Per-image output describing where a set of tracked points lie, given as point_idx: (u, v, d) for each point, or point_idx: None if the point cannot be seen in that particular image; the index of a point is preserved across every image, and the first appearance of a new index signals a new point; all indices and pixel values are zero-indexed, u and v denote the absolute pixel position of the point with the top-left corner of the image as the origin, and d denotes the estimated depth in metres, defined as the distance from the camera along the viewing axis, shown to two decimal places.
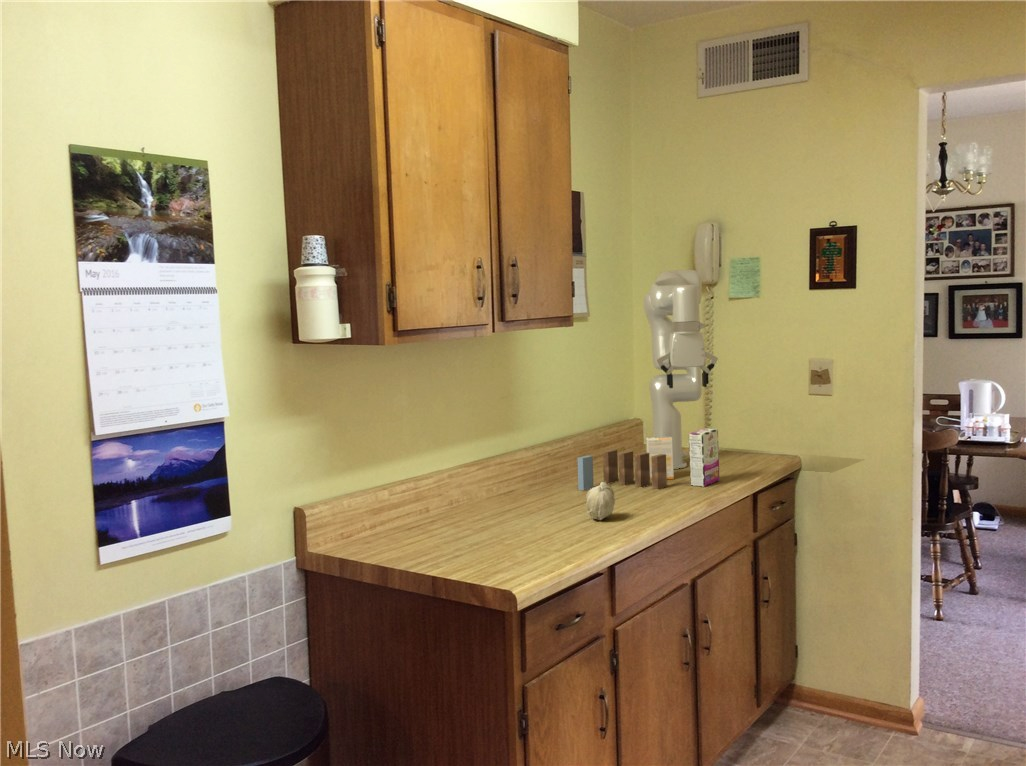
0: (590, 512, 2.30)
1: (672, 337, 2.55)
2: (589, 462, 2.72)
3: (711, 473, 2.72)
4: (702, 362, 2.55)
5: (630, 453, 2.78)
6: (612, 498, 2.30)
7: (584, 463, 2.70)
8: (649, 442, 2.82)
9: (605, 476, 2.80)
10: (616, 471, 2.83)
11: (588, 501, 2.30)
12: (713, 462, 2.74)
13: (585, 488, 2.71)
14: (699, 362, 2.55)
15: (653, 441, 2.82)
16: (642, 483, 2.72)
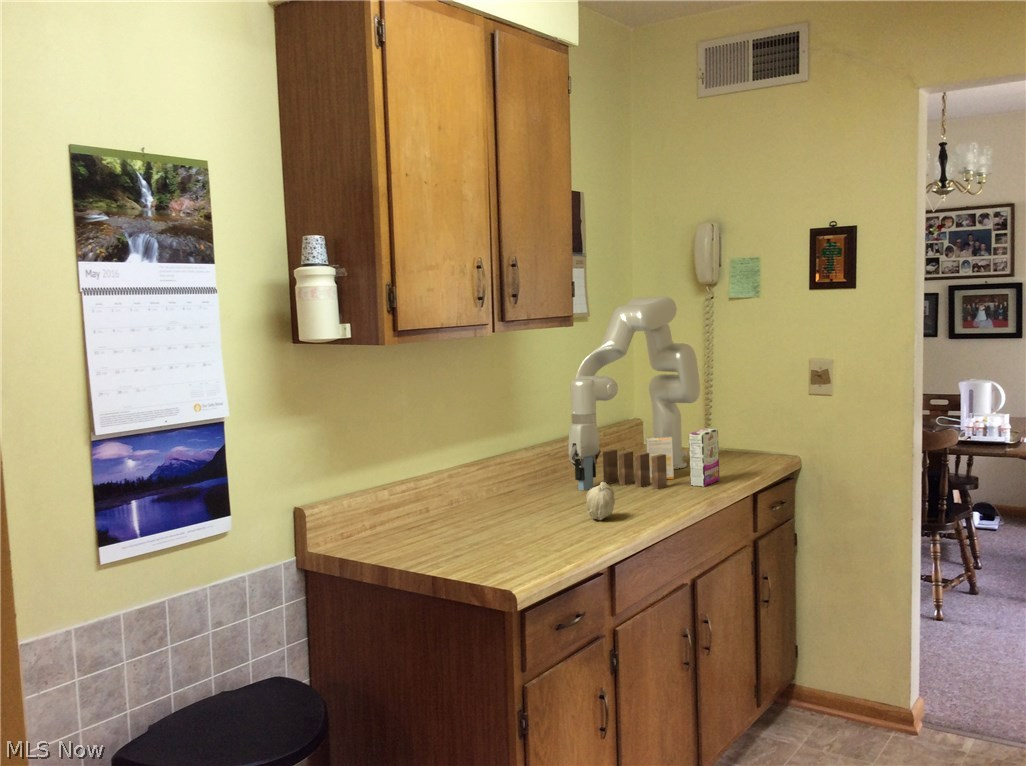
0: (590, 512, 2.30)
1: (579, 429, 2.67)
2: (589, 462, 2.72)
3: (711, 473, 2.72)
4: (598, 450, 2.73)
5: (630, 453, 2.78)
6: (612, 498, 2.30)
7: (584, 463, 2.70)
8: (649, 442, 2.82)
9: (605, 476, 2.80)
10: (616, 471, 2.83)
11: (588, 501, 2.30)
12: (713, 462, 2.74)
13: (585, 488, 2.71)
14: (596, 450, 2.73)
15: (653, 441, 2.82)
16: (642, 483, 2.72)
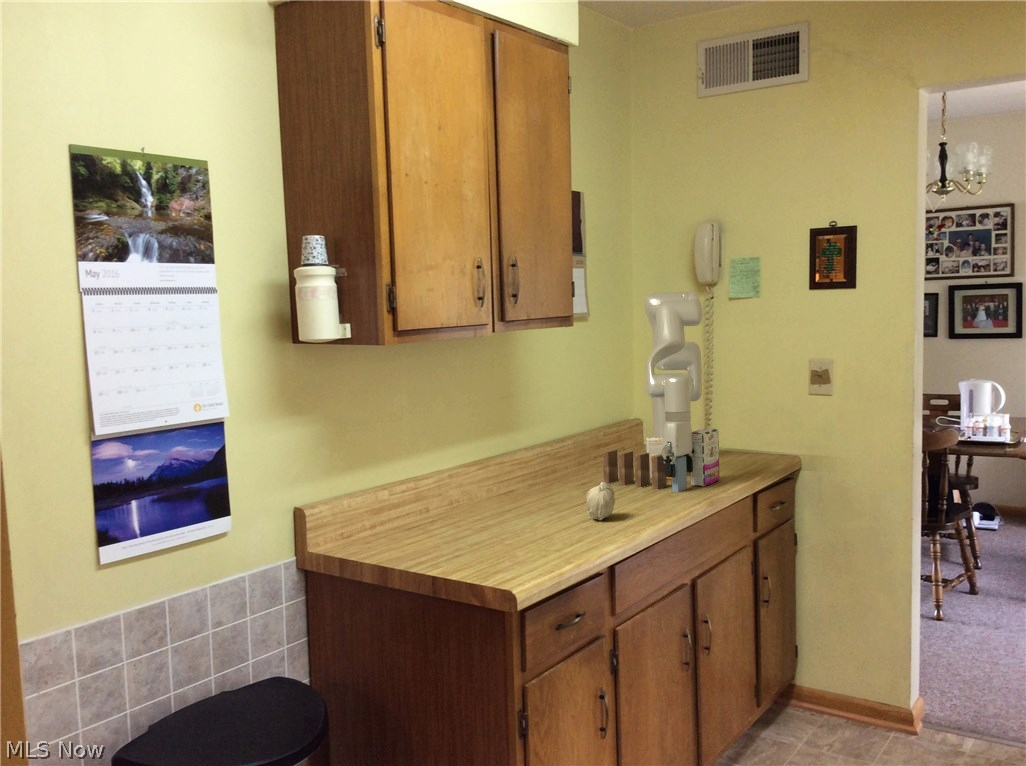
0: (590, 512, 2.30)
1: (674, 427, 2.60)
2: (683, 463, 2.65)
3: (711, 473, 2.72)
4: (691, 449, 2.66)
5: (630, 453, 2.78)
6: (612, 498, 2.30)
7: (678, 464, 2.63)
8: (649, 442, 2.82)
9: (605, 476, 2.80)
10: (616, 471, 2.83)
11: (588, 501, 2.30)
12: (713, 461, 2.74)
13: (679, 489, 2.64)
14: (690, 449, 2.65)
15: (653, 441, 2.82)
16: (642, 483, 2.72)
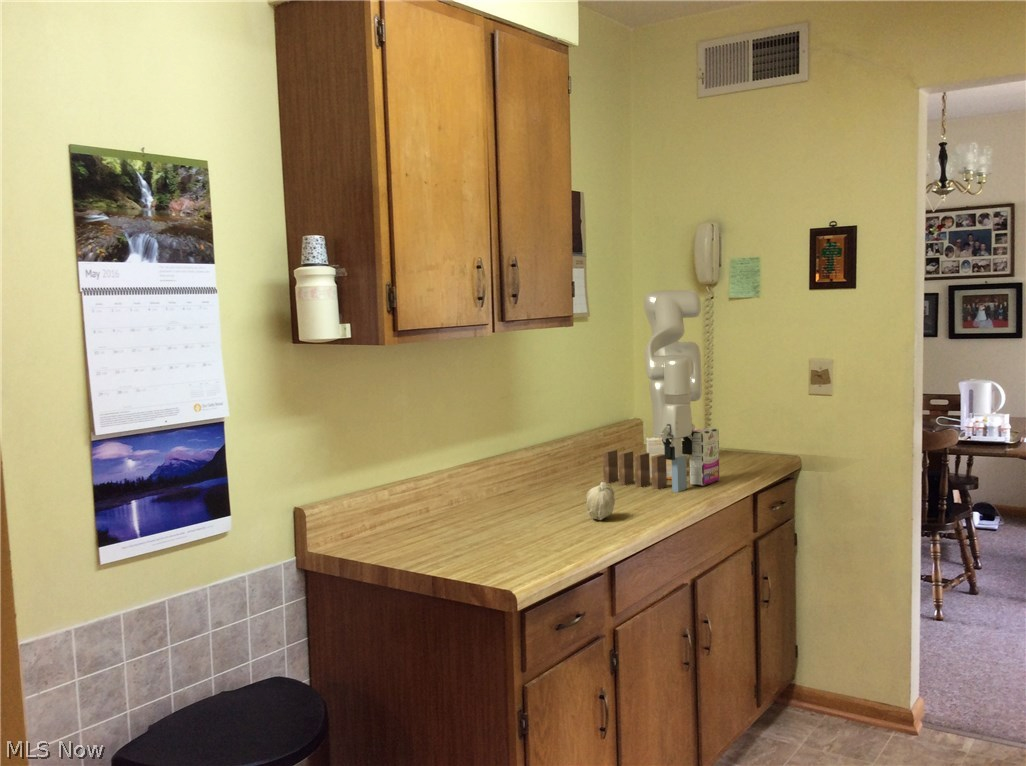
0: (590, 512, 2.30)
1: (674, 410, 2.60)
2: (683, 463, 2.65)
3: (710, 472, 2.72)
4: (691, 431, 2.66)
5: (630, 453, 2.78)
6: (612, 498, 2.30)
7: (678, 464, 2.63)
8: (649, 442, 2.82)
9: (605, 476, 2.80)
10: (616, 471, 2.83)
11: (588, 501, 2.30)
12: (713, 461, 2.74)
13: (679, 489, 2.64)
14: (689, 431, 2.65)
15: (653, 441, 2.82)
16: (642, 483, 2.72)
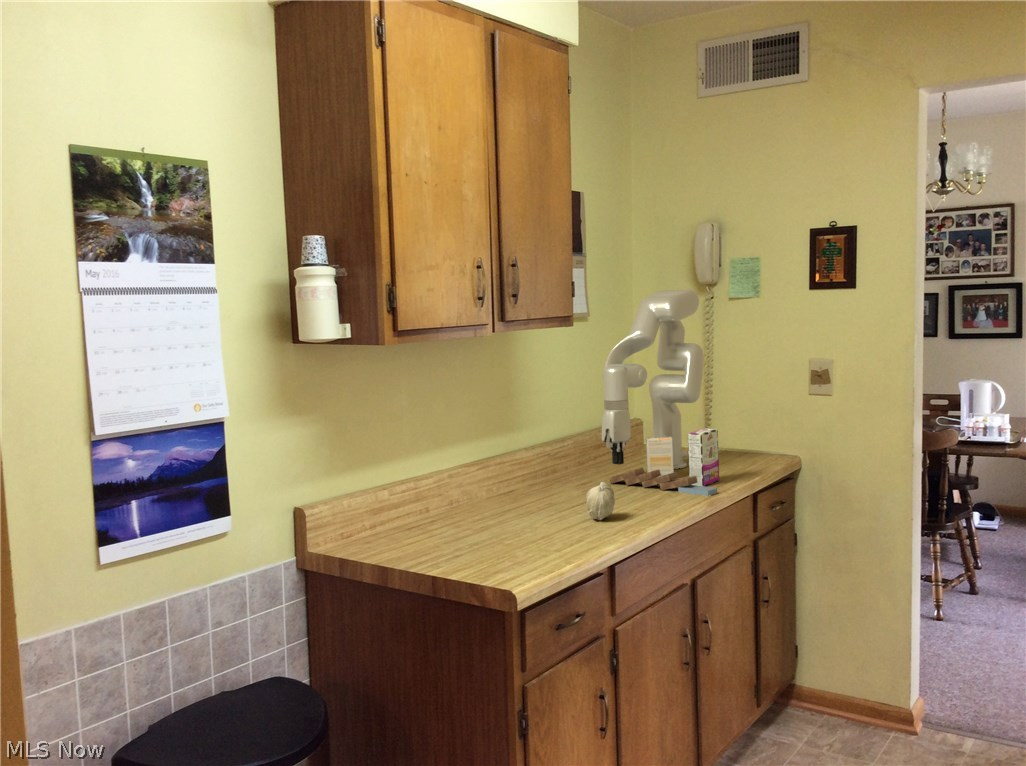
0: (590, 512, 2.30)
1: (612, 415, 2.74)
2: None
3: (710, 473, 2.72)
4: (630, 436, 2.81)
5: (657, 476, 2.71)
6: (612, 498, 2.30)
7: None
8: (649, 442, 2.82)
9: (615, 478, 2.78)
10: None
11: (588, 501, 2.30)
12: (713, 462, 2.74)
13: None
14: (628, 436, 2.80)
15: (653, 441, 2.82)
16: (648, 486, 2.71)
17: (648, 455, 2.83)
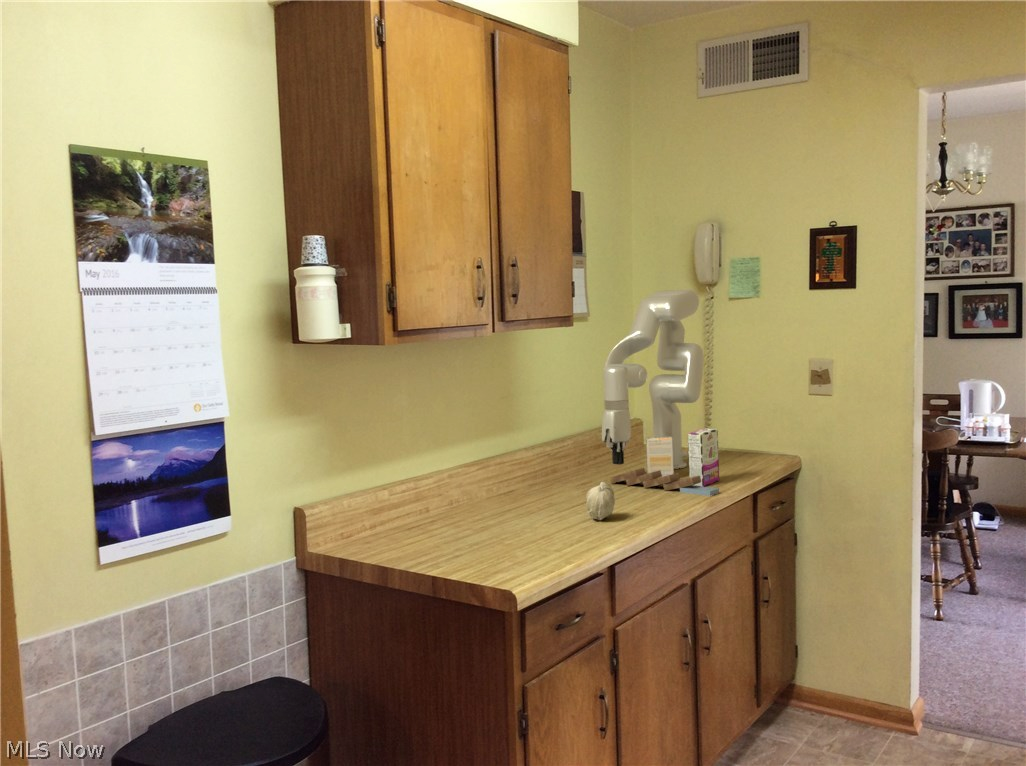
0: (590, 512, 2.30)
1: (612, 415, 2.74)
2: None
3: (710, 473, 2.72)
4: (630, 436, 2.81)
5: (658, 477, 2.71)
6: (612, 498, 2.30)
7: None
8: (649, 442, 2.82)
9: (616, 478, 2.78)
10: None
11: (588, 501, 2.30)
12: (713, 462, 2.74)
13: None
14: (628, 436, 2.80)
15: (653, 441, 2.82)
16: (649, 486, 2.71)
17: (648, 455, 2.83)
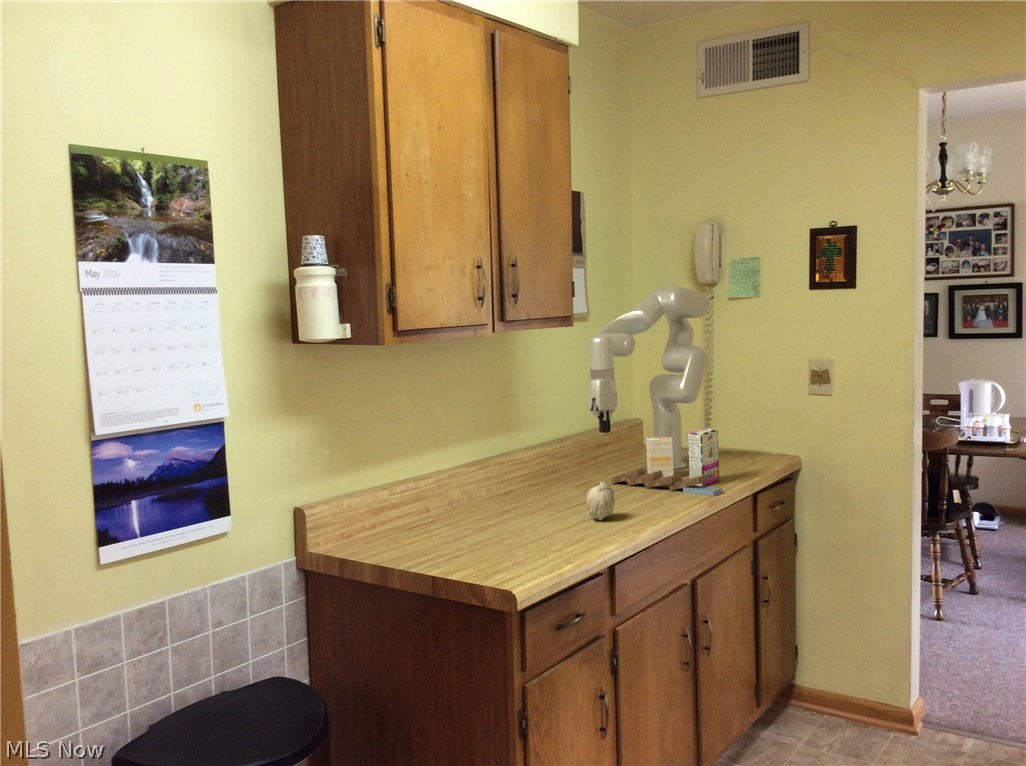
0: (590, 512, 2.30)
1: (598, 384, 2.77)
2: None
3: (710, 473, 2.72)
4: (616, 404, 2.84)
5: (659, 477, 2.71)
6: (612, 498, 2.30)
7: None
8: (649, 442, 2.82)
9: (616, 478, 2.78)
10: None
11: (588, 501, 2.30)
12: (713, 462, 2.74)
13: None
14: (615, 404, 2.83)
15: (653, 441, 2.82)
16: None
17: (648, 455, 2.83)
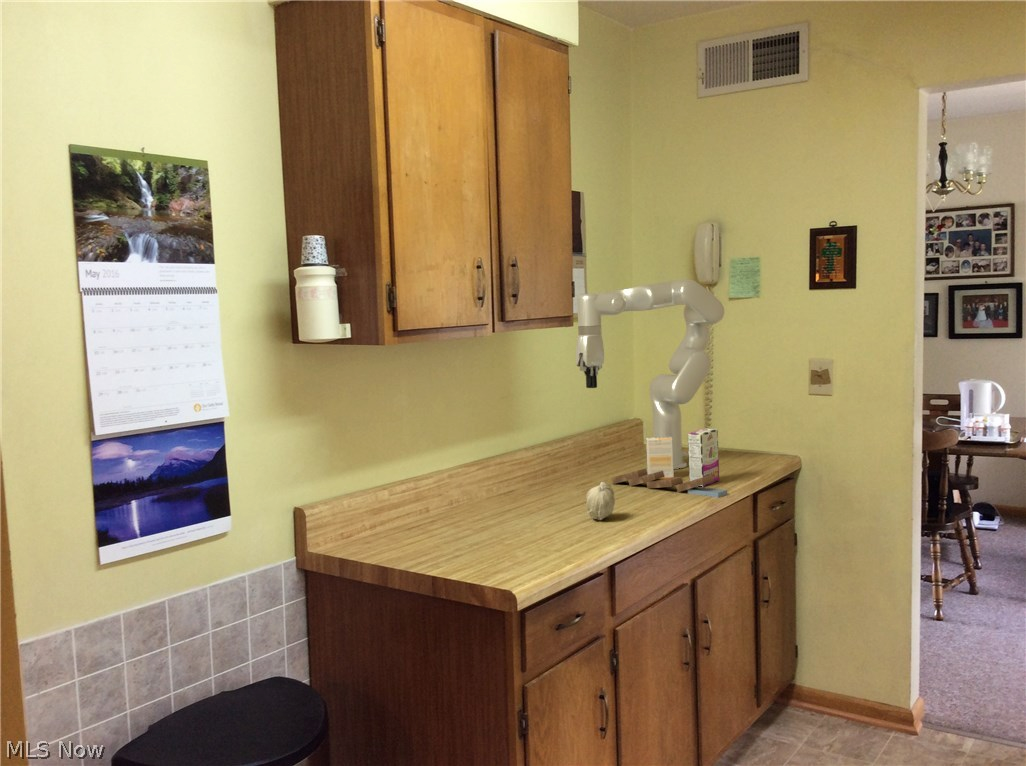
0: (590, 512, 2.30)
1: (585, 340, 2.86)
2: None
3: (710, 473, 2.72)
4: (603, 361, 2.93)
5: (660, 477, 2.71)
6: (612, 498, 2.30)
7: None
8: (649, 442, 2.82)
9: (617, 478, 2.77)
10: None
11: (588, 501, 2.30)
12: (713, 462, 2.74)
13: None
14: (601, 361, 2.92)
15: (653, 441, 2.82)
16: (652, 487, 2.70)
17: (648, 455, 2.83)
